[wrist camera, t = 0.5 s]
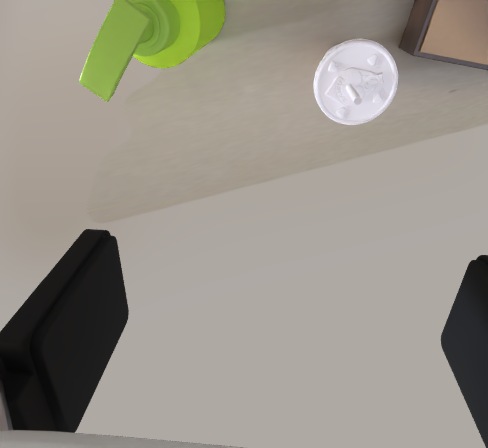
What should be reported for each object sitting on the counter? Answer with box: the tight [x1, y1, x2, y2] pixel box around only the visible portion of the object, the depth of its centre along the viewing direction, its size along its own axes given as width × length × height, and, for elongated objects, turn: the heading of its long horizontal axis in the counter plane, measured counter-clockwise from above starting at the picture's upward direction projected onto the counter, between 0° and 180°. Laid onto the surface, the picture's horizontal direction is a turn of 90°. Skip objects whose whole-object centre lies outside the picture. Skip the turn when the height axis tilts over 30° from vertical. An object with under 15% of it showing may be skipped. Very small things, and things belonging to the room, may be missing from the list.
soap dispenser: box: [79, 0, 225, 102], centre depth 29 cm, size 6×7×20 cm
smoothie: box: [314, 38, 398, 125], centre depth 33 cm, size 6×6×14 cm
